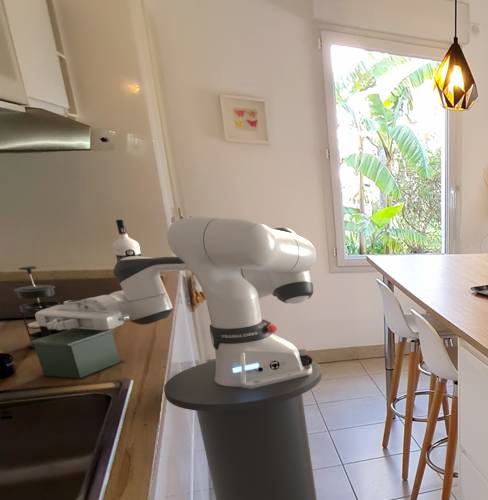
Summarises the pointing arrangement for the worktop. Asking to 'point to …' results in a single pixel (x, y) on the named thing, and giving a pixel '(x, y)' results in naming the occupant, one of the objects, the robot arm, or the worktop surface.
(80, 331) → the lid
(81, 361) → the green box
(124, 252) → the vodka
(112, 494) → the worktop surface
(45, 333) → the french press
